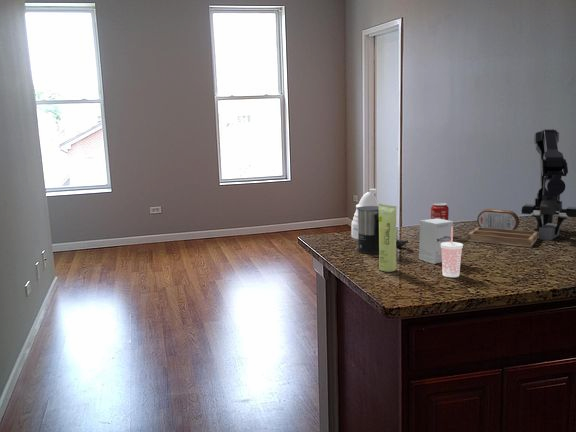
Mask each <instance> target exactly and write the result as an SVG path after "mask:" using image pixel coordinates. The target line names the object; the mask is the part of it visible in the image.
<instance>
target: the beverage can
mask: <svg viewBox="0 0 576 432" xmlns="http://www.w3.org/2000/svg"><path fill="white" fill-rule="evenodd" d="M449 210H450V209H449V206H448V203H446V202H444V203H443V202H435V203H432V205H431V207H430V219H436V218H438V219H444V220H449V213H450V212H449Z"/></svg>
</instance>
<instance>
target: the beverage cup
mask: <svg viewBox="0 0 576 432" xmlns="http://www.w3.org/2000/svg"><path fill="white" fill-rule="evenodd" d="M453 238H454V226H453V227H451V242H443V243H441V248H442V262H441V267H442V269H441V271H442V276H444V277H446V278H458V277H460V273H461V262H462V261H461V260H462V251H463V248H464V243H461V242H456V241H454V239H453Z"/></svg>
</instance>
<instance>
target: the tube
mask: <svg viewBox="0 0 576 432" xmlns="http://www.w3.org/2000/svg"><path fill="white" fill-rule="evenodd" d="M396 241H397V205H389V204H382V203H379V253H378V255H379V256H378V257H379V259H378V260H379V261H378V262H379V270H380V271H381V272H386V273H387V272H388V273H389V272H394V271H396V270H397V247H396Z"/></svg>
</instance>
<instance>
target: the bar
mask: <svg viewBox="0 0 576 432" xmlns="http://www.w3.org/2000/svg"><path fill="white" fill-rule="evenodd" d="M556 226H557V223H553V224H552V223H548V224H546V225H544V226H542V227H540V228H539V230H538V239H539V240H544V241H550V242H551V241H552V240H553V239H555V238H557V237H558V236H560V230H561V229H559V231H558V233H557V235H555V233H556Z"/></svg>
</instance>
